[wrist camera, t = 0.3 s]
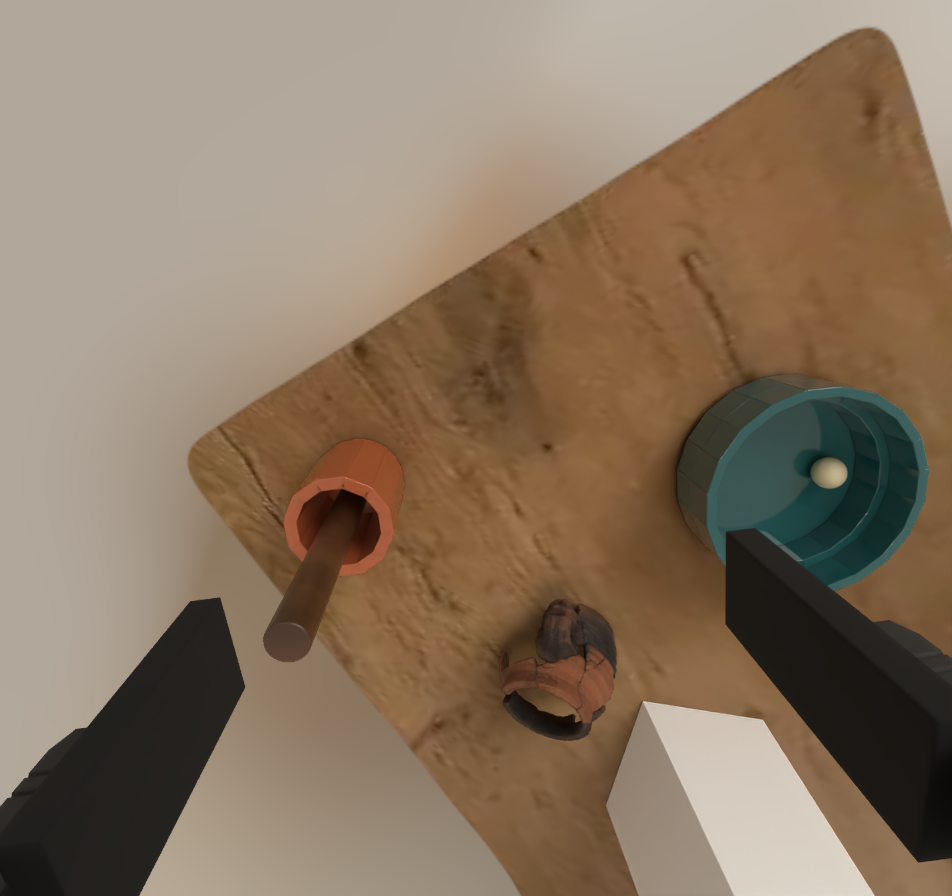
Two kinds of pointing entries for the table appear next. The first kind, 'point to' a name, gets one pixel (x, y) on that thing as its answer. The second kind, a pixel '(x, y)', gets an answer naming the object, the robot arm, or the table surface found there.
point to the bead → (828, 472)
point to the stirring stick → (314, 582)
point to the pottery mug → (564, 671)
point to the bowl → (805, 474)
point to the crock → (358, 472)
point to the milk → (721, 812)
